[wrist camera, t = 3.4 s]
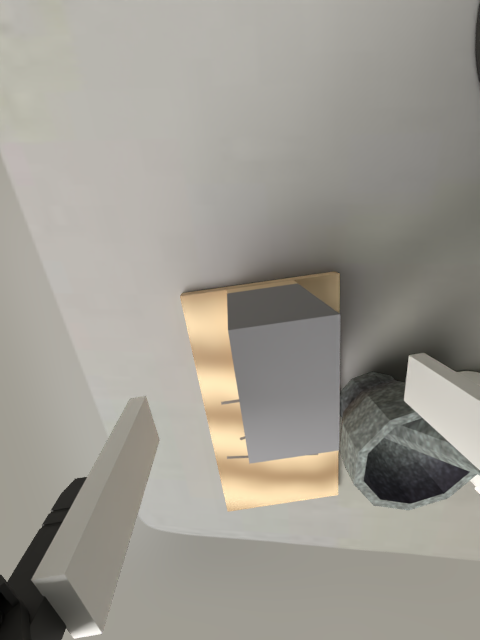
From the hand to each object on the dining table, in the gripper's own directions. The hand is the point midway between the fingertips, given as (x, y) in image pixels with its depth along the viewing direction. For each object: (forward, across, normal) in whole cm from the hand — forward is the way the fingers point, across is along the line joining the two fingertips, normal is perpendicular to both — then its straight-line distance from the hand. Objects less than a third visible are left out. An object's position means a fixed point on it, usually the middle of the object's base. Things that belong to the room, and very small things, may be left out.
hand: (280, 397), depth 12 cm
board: (+9, +1, -8) cm, 12 cm away
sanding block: (+8, +1, 0) cm, 8 cm away
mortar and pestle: (+9, +10, -8) cm, 16 cm away
